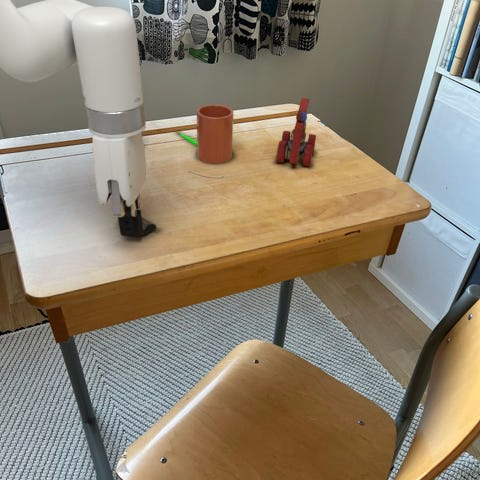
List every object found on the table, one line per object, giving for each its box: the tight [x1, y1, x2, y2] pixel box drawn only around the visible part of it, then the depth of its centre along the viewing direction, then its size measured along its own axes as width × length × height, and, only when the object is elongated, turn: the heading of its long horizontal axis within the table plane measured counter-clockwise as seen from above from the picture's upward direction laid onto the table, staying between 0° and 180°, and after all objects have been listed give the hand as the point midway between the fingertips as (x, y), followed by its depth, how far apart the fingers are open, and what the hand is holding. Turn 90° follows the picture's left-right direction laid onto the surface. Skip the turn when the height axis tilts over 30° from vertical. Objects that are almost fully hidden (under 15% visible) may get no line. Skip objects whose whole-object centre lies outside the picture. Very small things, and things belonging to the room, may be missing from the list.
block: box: [141, 217, 157, 235], centre depth 83 cm, size 4×6×2 cm, turn 54°
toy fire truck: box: [276, 97, 317, 167], centre depth 102 cm, size 7×12×10 cm, turn 168°
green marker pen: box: [178, 132, 197, 147], centre depth 108 cm, size 1×14×1 cm, turn 40°
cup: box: [196, 104, 235, 164], centre depth 102 cm, size 7×7×9 cm
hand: (132, 233), depth 80 cm, fingers closed
